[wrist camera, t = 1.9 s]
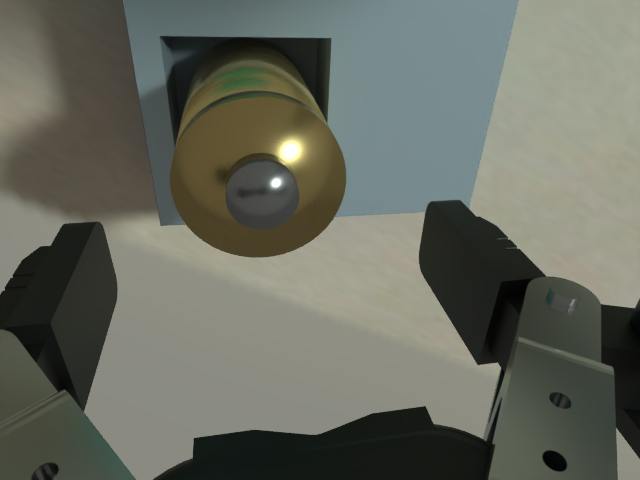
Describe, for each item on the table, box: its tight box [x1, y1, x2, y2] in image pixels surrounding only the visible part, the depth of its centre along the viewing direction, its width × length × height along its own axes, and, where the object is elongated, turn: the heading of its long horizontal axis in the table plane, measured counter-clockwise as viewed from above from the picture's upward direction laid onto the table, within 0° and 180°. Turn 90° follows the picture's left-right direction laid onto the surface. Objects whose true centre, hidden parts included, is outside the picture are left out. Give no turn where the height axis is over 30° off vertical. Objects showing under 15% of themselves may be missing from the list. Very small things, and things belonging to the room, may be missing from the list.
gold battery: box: [170, 37, 346, 257], centre depth 17 cm, size 5×5×10 cm
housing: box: [123, 0, 519, 226], centre depth 20 cm, size 10×14×4 cm
